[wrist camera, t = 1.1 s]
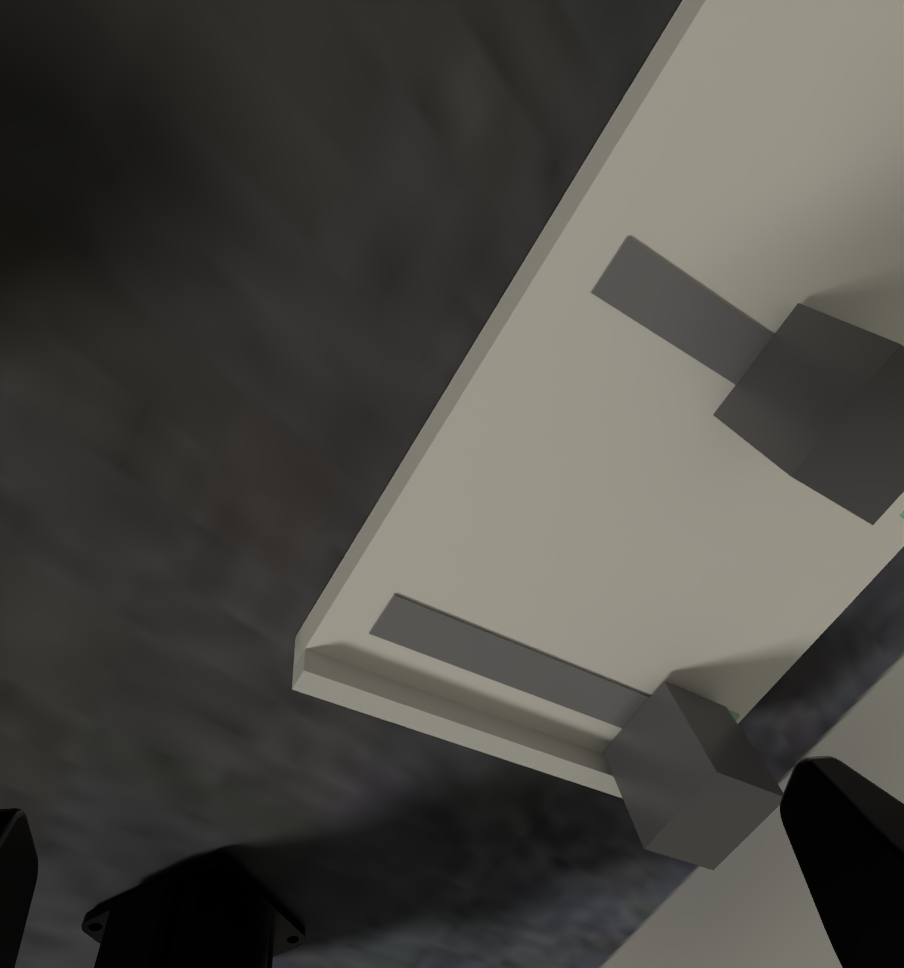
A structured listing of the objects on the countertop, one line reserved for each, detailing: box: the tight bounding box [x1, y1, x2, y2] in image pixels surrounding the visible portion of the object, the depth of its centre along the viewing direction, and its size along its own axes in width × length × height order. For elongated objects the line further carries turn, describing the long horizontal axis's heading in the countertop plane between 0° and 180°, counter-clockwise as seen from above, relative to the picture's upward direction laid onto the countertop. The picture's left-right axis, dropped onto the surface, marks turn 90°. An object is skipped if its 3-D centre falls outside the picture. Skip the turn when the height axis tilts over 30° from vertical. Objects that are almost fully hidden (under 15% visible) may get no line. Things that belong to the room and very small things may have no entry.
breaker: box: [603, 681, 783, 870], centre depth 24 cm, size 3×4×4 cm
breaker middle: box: [713, 303, 904, 525], centre depth 18 cm, size 3×4×4 cm
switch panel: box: [292, 0, 904, 798], centre depth 21 cm, size 16×30×2 cm, turn 149°
